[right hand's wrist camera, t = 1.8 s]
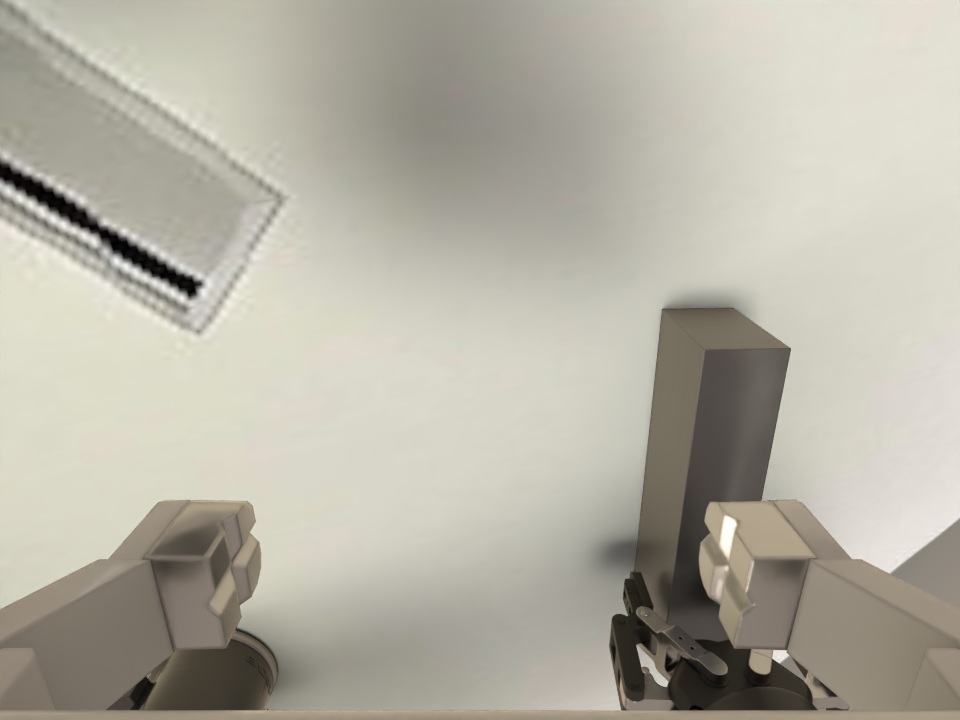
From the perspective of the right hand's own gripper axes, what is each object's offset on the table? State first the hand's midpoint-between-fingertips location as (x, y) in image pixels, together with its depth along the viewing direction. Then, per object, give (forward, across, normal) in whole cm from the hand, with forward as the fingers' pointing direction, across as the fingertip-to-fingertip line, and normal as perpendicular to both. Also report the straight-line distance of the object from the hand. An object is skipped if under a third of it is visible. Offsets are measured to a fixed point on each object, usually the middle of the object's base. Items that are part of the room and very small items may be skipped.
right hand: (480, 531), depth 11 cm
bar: (+30, +15, -17) cm, 38 cm away
